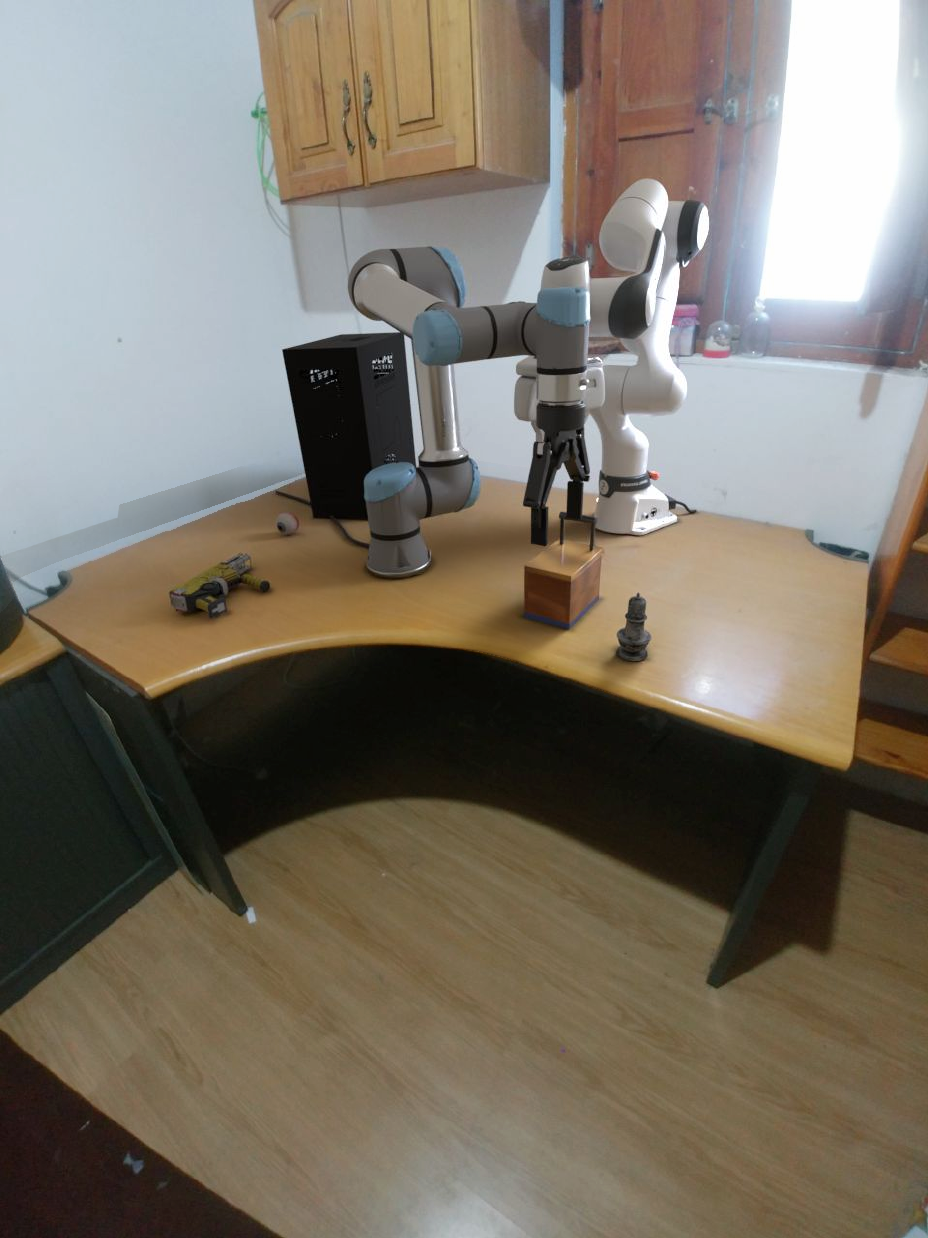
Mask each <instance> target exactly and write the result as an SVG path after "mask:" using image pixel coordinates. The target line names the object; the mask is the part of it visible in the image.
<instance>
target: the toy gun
mask: <svg viewBox="0 0 928 1238" xmlns="http://www.w3.org/2000/svg"><path fill="white" fill-rule="evenodd" d="M248 561H249V565H247V564H246V563H247V562H248ZM250 569H252V557H251V555H250V554H248V553H243V552H239V553H238V554H236V555H233V556H232V557H231V558H229V559H227V560H226V561H223V562H222V561H221V562H219V563H218V564H216V565H214V566H212V567H211V568H209V569H207V570H205V571H204V572H201V573H199V574H198V575H196V576H194V577H192V578H191V579H189V580H187V581H185V582H183V583H181V584H179V585H178V586H176V587H174V588H172V589H170V590H169V592H168V595H169V600H170V604H171V606H172V608H173V609H175V611H176V612H179V613H184V612H188V613H189V612H196V611H200V610H203V611H205V612H206V613H208V616H209V619H215V618H216V617H218V616H219V615H222V614H224V613H226V612H228V609H227V601H226V598H225V597H227V596H228V595H229V591H230V590H232V589H234V588H236V587H238V586H240V585H241V584H243V585H247V586H249V587H251V588H254V589H256V590H259V591H261V592H262V593H267V592H268V591H269V590H271V583H270V582H269V581H268V580H264V579H261V578H258V577H257V576H254V575H251V574H248V573H245V572H247V571H248V570H250ZM243 573H245V574H243ZM240 575H242V576H240Z"/></svg>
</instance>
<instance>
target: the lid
mask: <svg viewBox="0 0 928 1238" xmlns="http://www.w3.org/2000/svg"><path fill="white" fill-rule="evenodd" d="M566 513H567V511H559V514H558V518H559V538H558V540H556V541H555V542H553V543H552V544H551V545H549V546H548V547H546V548H545V549H544V550H543V551H541V552H540V553H539V554H538V555H536V556H534V557H533V558H532V559H531V560H530V561H528V562H527V563H526V564H524V565H523V572H524V571H528V572H532V573H536V574H540V575H545V576H549V577H553V578H557V579H562V580H566V581H570V582H571V581H572V580H574V579H575V578H576V577H577V576H578V575H579V574H580V573H581V572H583V571H584V570H585V569H586V568H587V567H588V566H589V565H590V564H592V563H593V562H594V561H595V560H596V559H597V558H598V557H599V556H601V555H602V556H603V554H604V552H605V547H602V546H597V545H595V537H596V528H595V525H596V523H597V518H596V517H594V516H589V515H584V514H582V519H574V518H568V517H566ZM566 521H571V522H575V523H581V524H586V525H590V533H589V544H587V543H582V542H577V541H572V540H567V539H565V528H566V527H565V525H566Z"/></svg>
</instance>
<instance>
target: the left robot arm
mask: <svg viewBox="0 0 928 1238" xmlns="http://www.w3.org/2000/svg"><path fill="white" fill-rule="evenodd" d="M347 292H348V296H349V299H350V301H351V304H352V306H353V307H354V308H355V309H356V310H357V311H358V312H359V313H360V314H361V315H362V316H364V317H365V318H367V319H369V320H371V321H376V322H384V323H385V324H387V325H388V326H390V327H391V328H392V329H394V330H396V331H397V332H401V333H402V334H404V337H407V338H409V339H410V342H411V344H410V345H411V351H412V361H413V367H414V368H413V369H414V377H415V386H416V395H417V396H416V397H417V404H418V411H419V412H418V413H419V420H420V429H421V430H420V431H421V437H422V438H421V439H422V447H423V449H422V451H421V452H420V454H419V455H418V456H417V462H418V466H416V468H415V467H414V466H413V465H412V464H411V463H408V462H399V463H390V464H386V465H382V466H380V467H377V468H375V469H373V470H372V471H370V472H369V473H368V474H367V475H366V477H365V479H364V492H365V493H364V498H365V500H366V506H367V513H368V519H367V521H368V526H369V534H370V539H369V543H366V542H363V541H360V540H357V539H355V538H353V537H352V536H350V535H349V533H348V532H347V530H346V528H345V527H343V525H342V524H341V523H340V521H339V520H338V518H335V517H334V516H333V515H330V517H331V518H330V519H331V520H332V521H333V522H334V523H335V524H336V525H337V526H338V528H339V530H341V532H342V533H343V535H344V537H345V538H346V539H347V540H348V541H350V542H352V543H353V544H355V545H359V546H362V547H365V548H368V551H367V556H366V569H367V572H368V573H370V574H371V575H373V576H374V577H377V578H381V579H389V580H392V579H394V580H397V579H405V578H411V577H415V576H417V575H420V574H422V573H424V572H425V571H427V570H428V569H429V568H430V567H431V564H432V558H431V557H432V549H431V548H430V549H428V548H427V546H426V542H425V540H424V537H423V534H422V531H421V520H425V519H429V518H433V517H438V516H442V515H445V514H450V513H458V512H461V511H463V510H466V509H470V508H471V507H473V506H474V505H475V503H477V501H478V499H479V496H480V494H481V493H480V492H481V486H482V477H481V471H480V470H479V466H478V463H477V461H475V460H474V459H473V458H472V457H469V451H468V450H467V449H465V447H463V446H462V439H461V429H460V417H459V405H458V396H457V395H458V394H457V383H456V372H455V365H457V364H464V363H471V362H478V361H485V360H494V359H503V358H512V357H520V356H521V357H522V356H527V357H528V356H536V357H537V380H536V399H537V400H538V401H540V402H539V403H538V405H537V406H536V426H537V427H538V428H539V429H541V430H543V431H544V433H545V435H544V440H543V442H536V440H535V441H534V442H533V443H532V445H533V447H532V458H531V463H530V468H529V472H528V477H527V480H526V481H527V482H526V485H525V491H524V495H523V501H522V506H523V507H526V508H530V545H534V546H540V547H544V548H545V547H546V548H547V546H548V545H549V506H546V505H547V503H548V499H549V497H550V494H551V490H552V487H553V484H554V481H555V478H556V476H557V475H556V474H557V472H558V471H559V470H560V469H561V468H562V465H563V466H564V468H565V470H566V473H567V475H568V477H569V479H570V480H567V487H566V512H567V513H566V517H568V518H574V519H582V515H583V506H584V505H583V504H584V502H583V501H584V486H585V485H584V484H585V483H584V482H587V483H589V482H590V478H591V476H590V474H591V467H590V462H589V457H588V451H587V446H586V445H587V444H586V440H585V439H586V438H585V425H586V423H585V403H584V402H583V401H581V400H583V399H584V398H585V395H586V386H587V385H588V383H589V381H588V379H586V373H587V371H586V370H587V358H589V357H588V356H589V338H590V337H589V322H590V314H589V292H588V290H587V289H586V288H584V287H560V288H547V289H542V290H540V289H539V291H538V293H537V299H536V302H526V301H521V300H519V301H510V302H507V303H504V304H503V303H501V304H494V305H493V304H491V305H482V306H481V305H480V306H470V307H463V306H464V305H465V302H466V299H465V298H466V296H467V285H466V278H465V273H464V269H463V266H462V264H461V262H460V260H459V258H458V257H457V256H456V254H455V253H454V252H453V251H452V250H451V249H449V248H447V247H444V246H431V245H430V246H416V247H415V246H414V247H400V248H399V247H398V248H378V249H375V250H372V251H369V252H367V253H366V254H364V255H362V256H361V257H360V258H359V259H358V260H357V261H355V263H354V264H353V266H352V267H351V269H350V272H349V274H348V279H347ZM584 424H585V425H584ZM275 494H277V495H280V496H283V497H287V498H289V499H293V500H296V501H299V502H302V503H304V504H307V505H309V506H311V502H310V500H307V499H304V498H301V497H299V496H296V495H292V494H290V493H289V494H288V493H286V492H283V491H280V490H275Z"/></svg>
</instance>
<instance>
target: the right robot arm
mask: <svg viewBox="0 0 928 1238" xmlns="http://www.w3.org/2000/svg"><path fill="white" fill-rule="evenodd" d="M709 225H710V221H709V212H708V208H707V207H706V205H705V203H704V202H703V201H699V200H695V199H686V200H685V201H682V200H669V196H668V192H667V190H666V188H665V187H664V185H663V184H662V183H661V182H659V181H658V180H656V179H653V178H643V179H639V180H637V181H635V182H633V184H631V185H630V186H629V187H627V188H626V190H624V191H623V192H622V194H621V195H619V197H618V198H617V199H616V201H615V202H614V203H613V205H612V206H611V208H610V210H608V213H607V214H606V215H605V217H604V219H603V221H602V224H601V226H600V229H599V235H598V242H599V248H600V251H601V254H602V256H603V258H604V260H605V261H606V262H607V263H608V264H609V265H611V266H612V268H615V269H616V270H619V271H626V272H635V273H634V274H632V275H626V276H617V277H601V278H600V277H599V278H597V277H595V278H594V277H592V278H591V276H590V266H589V265H590V264H589V260H588V259H587V258H586V257H582V256H566V257H562V258H556V259H552V260H550V261H549V262H548V263H547V264H545V265H544V267H543V270H542V274H541V275H542V276H541V281H540V289H539V291H540V290H542V289H547V288H560V287H584V288H586V289H587V290H588V292H589V314H590V322H589V338H616V339H620V343H621V345H622V346H623V347H624V349H626V350H627V351H628V352H629V353H632V354H633V355H635V356H637V361H636V363H635V364H633V365H622V364H621V365H619V364H616V365H615V364H604V363H603V362H602V360H601V359H600V358H599V357H598V356H591V357H587V370H586V371H587V373H586V379H588V381H589V383H588V385H587V386H586V395H585V398H584V399H583V400H581V401H583V402H584V403H585V424H584V426H585V425H586V423H587V421H588V418H589V417H590V416H591V418H592V419H593V421H594V423H595V424H596V426H597V429H598V431H599V435H600V441H601V468H600V470H599V474H598V492H599V493H598V497H597V498H596V507H595V511H594V514H593V517H596V518H597V523H596V525H595V529H597V530H599V531H601V532H605V533H611V534H623V535H625V534H626V535H632V536H633V535H634V536H645V535H646V534H650V533H652V532H654V531H657V530H660V529H662V528H665V527H668V526H670V525H672V524H675V523H677V522H678V516H677V515H676V514H675V513H674V512H672V511H670V510H676V506H677V505H680V506H682V507H683V508H684V509H685V510H686V512H687V513H690V514H693V513H697V509H690V508H689V506H688V505H687V504H685V502H683V501H679V500H677V499H675V498H673V497H672V496H669V495H667V494H665V493H663V492H661V491H660V490H659V489H658V488H656V487H655V486H654V485H652V483H651V480H653V481H658V479H659V478H660V473H659V472H657V471H654V470H651V471H649V470H648V469H647V466H648V458H649V457H648V456H649V447H650V444H649V440H648V438H647V437H646V435H645V434H644V433H643V432H642V431H640V430H639V429H637V428H635V426H634V425H633V424H632V422H631V420H630V418H629V416H636V417H637V416H638V417H649V418H655V417H663V416H670V415H674V414H675V413H677V412H678V411H679V410H680V409H681V407H682V406H683V405H684V403H685V401H686V398H687V394H688V384H687V379H686V377H685V375H684V374H683V372H682V371H681V370H680V369H679V368H678V367H677V366H676V365H675V363H674V362H673V359H672V357H671V355H670V350H669V339H670V333H671V327H672V322H673V318H674V313H675V309H676V305H677V299H678V293H679V285H680V283H679V282H680V269H683V268H686V267H687V266H688V264H689V263H690V261H691V260H693V259H694V258H695V257H696V256H697V255H698V254H699V252H700V251H701V250H702V248H703V247H704V244H705V242H706V239H707V237H708V233H709V227H710V226H709ZM515 372H516V375H517V376H519V377H518V378H517V380H516V382H515V385H514V393H513V412H514V415H515V417H516V419H517V420H518V421H522V422H527V423H529V422H530V425H531V428H532V429H533V431H534V433H535V441H536V442H543V440H544V435H545V433H544V431H543V430H541V429H539V428H538V427H537V426H536V406H537V405H538V403H539V402H540V401H538V400H537V399H536V380H537V357H536V356H528V355H527V356H526V357H525V358H523V359H521V360H520V361H518V362H517V363H516V365H515Z"/></svg>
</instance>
